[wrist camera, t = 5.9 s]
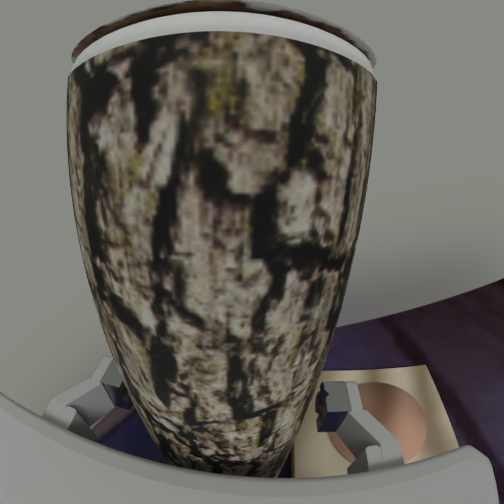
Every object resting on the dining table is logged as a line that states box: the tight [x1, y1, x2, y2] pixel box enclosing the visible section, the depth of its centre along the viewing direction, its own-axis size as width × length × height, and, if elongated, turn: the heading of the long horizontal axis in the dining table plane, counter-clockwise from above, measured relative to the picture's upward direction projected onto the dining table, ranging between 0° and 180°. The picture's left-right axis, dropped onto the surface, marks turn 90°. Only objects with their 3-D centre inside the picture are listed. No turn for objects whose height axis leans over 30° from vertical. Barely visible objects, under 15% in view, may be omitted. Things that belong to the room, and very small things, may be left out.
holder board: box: [291, 365, 459, 478], centre depth 20 cm, size 16×14×2 cm
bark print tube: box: [67, 0, 377, 478], centre depth 11 cm, size 7×7×25 cm
